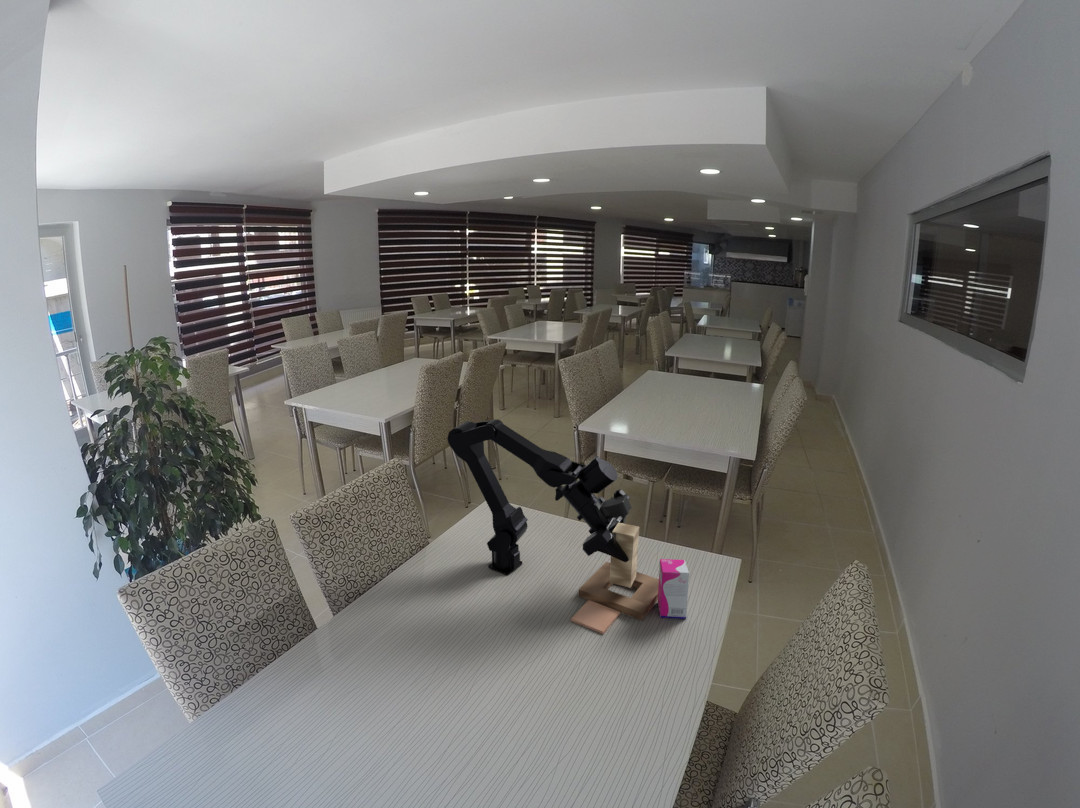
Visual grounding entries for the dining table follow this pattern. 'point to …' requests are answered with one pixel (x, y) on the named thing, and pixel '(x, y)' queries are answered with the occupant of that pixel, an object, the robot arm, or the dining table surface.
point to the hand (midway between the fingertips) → (630, 555)
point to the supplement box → (673, 588)
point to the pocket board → (633, 606)
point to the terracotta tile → (595, 616)
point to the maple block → (628, 542)
